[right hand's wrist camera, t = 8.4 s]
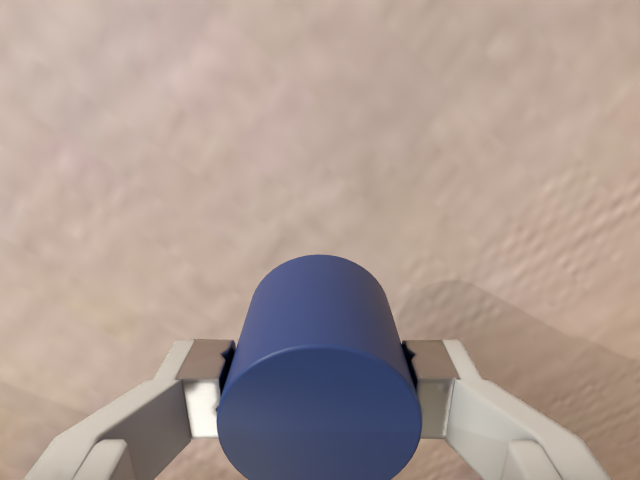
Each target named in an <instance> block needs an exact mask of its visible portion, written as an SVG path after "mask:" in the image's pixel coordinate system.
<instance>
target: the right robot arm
mask: <svg viewBox="0 0 640 480" xmlns="http://www.w3.org/2000/svg"><path fill="white" fill-rule="evenodd" d="M402 348H403V351H404V354H405V357H406V361H407V364H408V367H409V370H410V373H411V377H412V380H413V383H414V386H415V389H416V392H417V396H418V399H419V402H420V405H421V411H422V432H421V437H420V438H422V439H446V442H447V443H448V444H449V445H450V446H451V447H452V448H453V449H454V450H455V451H456V452H457V453H458V454H459V455H460V456H461V457H462V459H463V460H464V461H465V462H466V463H467V464H468V465H469V466H470V467H471V468H472V469H473V470H474V471H475V472H476V473H477V474H478V475H479V476H480V477H481V478H482V479H483V480H612V479H611V478H610V477H609V475H608V474H607V472H606V471H605V470H604V468H603V467H602V466H601V464H600V463H599V462H598V460H597V459H596V457H595V456H594V455H593V453H592V452H591V451H590V449H589V448H588V447H587V445H586V444H585V443H584V441H583V440H582V438H580V437H579V436H577V435H575V434H574V433H572V432H571V431H569V430H568V429H566V428H564V427H563V426H561V425H560V424H558V423H556V422H555V421H553V420H552V419H550V418H549V417H547V416H545V415H544V414H542V413H541V412H539V411H538V410H536V409H534V408H533V407H531V406H530V405H528V404H526V403H525V402H523V401H522V400H520V399H519V398H517V397H515V396H514V395H512V394H511V393H509V392H508V391H506V390H504V389H503V388H501V387H500V386H498V385H496V384H495V383H493V382H492V381H490V380H483V378H482V377H481V375H480V373H479V371H478V369H477V368H476V366H475V364H474V362H473V361H472V359H471V357H470V355H469V353H468V352H467V350H466V348H465V346H464V345H463V343H462V341H461V340H459V339H441V340H403V341H402ZM235 351H236V346H235V342H234V340H208V339H197V340H196V339H178V340H176V341H175V342H174V344H173V345H172V347H171V349H170V351H169V352H168V354H167V356H166V358H165V359H164V361H163V363H162V365H161V366H160V368H159V370H158V372H157V374H156V375H155V377H154V379H153V380H146V381H144V382H143V383H141V384H140V385H138V386H136V387H135V388H133V389H132V390H130V391H128V392H127V393H125V394H124V395H122V396H121V397H119V398H117V399H116V400H114V401H113V402H111V403H109V404H108V405H106V406H105V407H103V408H101V409H100V410H98V411H97V412H95V413H93V414H92V415H90V416H89V417H87V418H85V419H84V420H82V421H81V422H79V423H77V424H76V425H74V426H73V427H71V428H69V429H68V430H66V431H65V432H63V433H61V434H60V435H58V436H57V437H55V438H54V439H53V441H52V442H51V443H50V445H49V446H48V447H47V449H46V450H45V451H44V453H43V454H42V455H41V457H40V458H39V459H38V461H37V462H36V463H35V465H34V466H33V467H32V468H31V470H30V471H29V472H28V474H27V475H26V476H25V478H24V479H23V480H154V479H155V478H156V477H157V476H158V475H159V474H160V473H161V471H162V470H163V469H164V468H165V467H166V466H167V465H168V464H169V463H170V462H171V461H172V460H173V459H174V458H175V457H176V456H177V455H178V454H179V453H180V452H181V451H182V450H183V449H184V448H185V447H186V446H187V445H188V444H189V443H190V442H191V439H214V438H219V437H218V433H217V423H216V418H217V409H218V406H219V402H220V399H221V396H222V392H223V389H224V386H225V383H226V380H227V376H228V373H229V370H230V367H231V364H232V361H233V357H234V354H235Z"/></svg>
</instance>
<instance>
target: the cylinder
mask: <svg viewBox="0 0 640 480" xmlns="http://www.w3.org/2000/svg"><path fill="white" fill-rule="evenodd" d="M216 423H217V433H218V437H219V441H220V444H221V446H222V449H223V451H224V453H225V455H226V456H227V458H228V459H229V461H230V462H231V463H232V465H233V466H234V467H235V468H236V469H237V470H238V471H239V472H240V473H241V474H242V475H243V476H244V477H246V478H247V479H248V480H391V479H392V478H393V477H394V476H396V475H397V474H398V473H399V472H400V471H401V470H402V469H403V468H404V467H405V466H406V465H407V463H408V462H409V461H410V459H411V458H412V456H413V454H414V453H415V451H416V449H417V446H418V443H419V441H420V437H421V432H422V411H421V405H420V402H419V399H418V396H417V392H416V389H415V386H414V383H413V380H412V377H411V373H410V370H409V367H408V364H407V361H406V357H405V354H404V351H403V348H402V345H401V341H400V338H399V335H398V332H397V329H396V325H395V322H394V319H393V316H392V313H391V309H390V306H389V303H388V300H387V297H386V294H385V292H384V290H383V288H382V287H381V285H380V284H379V282H378V281H377V280H376V279H375V278H374V277H373V276H372V275H371V274H370V273H369V272H368V271H367V270H365V269H364V268H363V267H361V266H359V265H358V264H356V263H354V262H352V261H349V260H347V259H344V258H340V257H337V256H330V255H308V256H303V257H298V258H295V259H292V260H289V261H287V262H285V263H283V264H281V265H280V266H278V267H277V268H275V269H273V270H272V271H271V272H270V273H269V274H268V275H266V277H265V278H264V279H263V280H262V281H261V282H260V284H259V285H258V287H257V289H256V290H255V293H254V295H253V297H252V300H251V303H250V307H249V310H248V313H247V316H246V319H245V322H244V326H243V329H242V332H241V335H240V338H239V341H238V345H237V348H236V351H235V354H234V357H233V361H232V364H231V367H230V370H229V373H228V376H227V380H226V383H225V386H224V389H223V392H222V396H221V399H220V402H219V406H218V409H217V418H216Z"/></svg>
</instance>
